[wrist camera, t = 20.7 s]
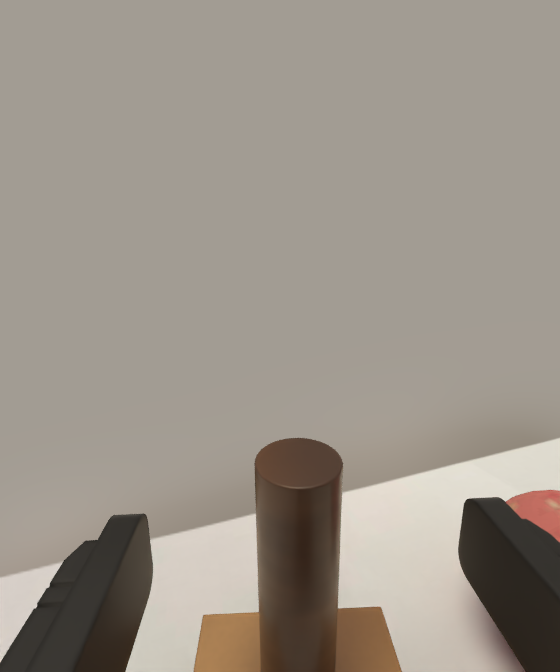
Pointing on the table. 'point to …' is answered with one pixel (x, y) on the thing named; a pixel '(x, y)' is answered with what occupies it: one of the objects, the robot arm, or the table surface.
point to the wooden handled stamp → (297, 578)
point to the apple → (539, 509)
